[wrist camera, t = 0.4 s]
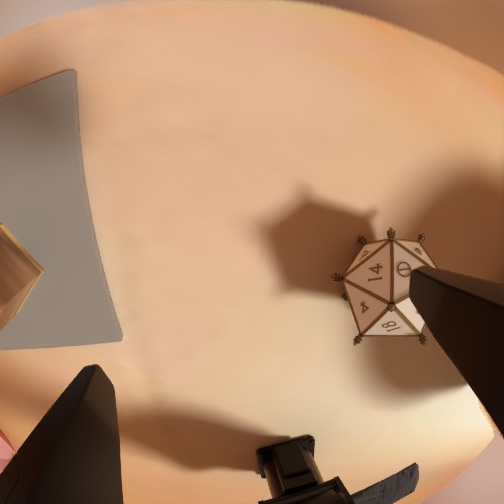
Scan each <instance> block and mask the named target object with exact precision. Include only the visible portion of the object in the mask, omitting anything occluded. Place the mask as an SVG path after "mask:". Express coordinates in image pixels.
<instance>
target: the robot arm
mask: <svg viewBox="0 0 504 504" xmlns="http://www.w3.org/2000/svg"><path fill="white" fill-rule="evenodd" d="M409 298H410V300H411V302H412V304H413V305H414V307H415V308H416V310H417V311H418V313H419V314H420V316H421V317H422V319H423V321H424V322H425V324H426V325H427V327H428V329H429V330H430V332H431V333H432V335H433V336H434V338H435V339H436V341H437V342H438V343H439V345H440V346H441V347H442V349H443V350H444V351H445V353H446V354H447V355H448V357H449V358H450V359H451V361H452V362H453V363H454V365H455V366H456V368H457V369H458V370H459V372H460V373H461V374H462V376H463V377H464V379H465V380H466V382H467V383H468V384H469V386H470V387H471V389H472V390H473V392H474V393H475V394H476V396H477V397H478V399H479V400H480V402H481V403H482V405H483V406H484V408H485V409H486V411H487V412H488V414H489V416H490V417H491V419H492V420H493V422H494V423H495V425H496V427H497V428H498V430H499V431H500V433H501V435H503V438H504V285H503V284H499V283H495V282H491V281H487V280H483V279H479V278H475V277H470V276H466V275H462V274H458V273H454V272H450V271H446V270H441V269H437V268H433V267H429V266H424V265H423V266H419V267H417V268H415V269H413V270H412V271H411V273H410V283H409ZM314 446H315V439H314V437H313V436H309V437H306V438H302V439H298V440H295V441H291V442H287V443H283V444H278V445H274V446H270V447H265V448H261V449H258V450H257V451H256V453H257V458H258V464H259V469H260V474H261V477H262V478H266V479H267V482H268V485H269V489H270V492H271V495H272V499H269V500H265V501H263V500H262V501H258V504H355V503H354V501H353V499H352V497H351V496H350V494H349V493H348V491H347V489H346V488H345V486H344V485H343V483H342V481H341V480H340V478H339V477H338V476H337V477H334V478H333V479H331V480H329V481H326V482H324V481H323V478H322V476H321V474H320V472H319V470H318V467H317V465H316V463H315V461H314ZM0 504H123V493H122V479H121V460H120V436H119V427H118V418H117V409H116V398H115V389H114V386H113V384H112V382H111V381H110V380H109V378H108V377H107V375H106V374H105V373H104V371H103V370H102V368H101V367H100V366H99V365H97V364H94V365H89V366H85V367H84V368H83V369H82V370H81V371H80V372H79V374H78V375H77V376H76V377H75V378H74V380H73V381H72V382H71V383H70V384H69V386H68V387H67V388H66V389H65V391H64V392H63V393H62V394H61V396H60V397H59V398H58V399H57V400H56V402H55V403H54V404H53V405H52V407H51V408H50V409H49V410H48V412H47V413H46V414H45V416H44V417H43V418H42V419H41V421H40V422H39V423H38V425H37V426H36V427H35V428H34V430H33V431H32V432H31V434H30V435H29V436H28V438H27V439H26V440H25V442H24V443H23V444H22V446H21V447H20V448H19V450H18V451H17V454H15V455H14V456H13V458H12V459H11V460H10V462H9V463H8V464H7V466H6V467H5V468H4V470H3V471H2V472H1V474H0Z"/></svg>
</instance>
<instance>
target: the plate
mask: <svg viewBox="0 0 504 504" xmlns="http://www.w3.org/2000/svg"><path fill="white" fill-rule="evenodd" d="M15 454H16V452H15V450H14V448H13V446H12V445H11V443H10V442H9V440H8V439H7V438H6V436H5V435H4V434H3V433H2V432H1V431H0V473H1V472H2V471H3V470H4V468H5V467H6V466H7V464H8V463H9V462H10V460H11V459H12V458H13V456H14V455H15Z"/></svg>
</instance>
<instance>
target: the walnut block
mask: <svg viewBox="0 0 504 504" xmlns="http://www.w3.org/2000/svg"><path fill="white" fill-rule="evenodd" d="M44 270H45V269H44V268H43V267H42V266H41V265H40V264H39V263H38V262H37V261H36V260H35V259H34V258H33V257H32V256H31V255H30V254H29V253H28V252H27V250H26V249H25V248H24V247H23V246H22V245H21V244H20V243H19V242H18V241H17V239H16V238H15V237H14V236H13V235H12V234H11V233H10V231H9V230H8V229H7V228H6V227H5V226H4V224H1V225H0V331H1V330H2V329H3V328H4V327H5V326H6V324H7V323H8V322H9V321H10V320H11V319H12V318H13V317H14V316H15V315H16V314H17V313H18V312H19V310H20V308H21V307H22V305H23V303H24V302H25V300H26V298H27V297H28V295H29V294H30V292H31V290H32V289H33V287H34V286H35V284H36V282H37V281H38V279H39V278H40V276H41V275H42V273H43V272H44Z"/></svg>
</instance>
